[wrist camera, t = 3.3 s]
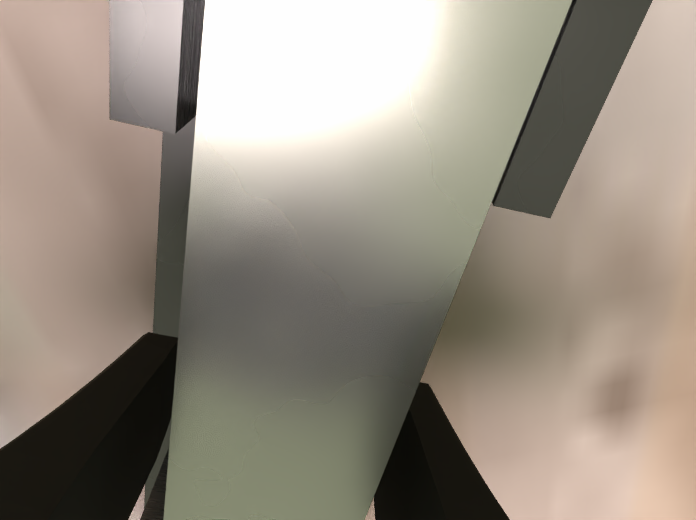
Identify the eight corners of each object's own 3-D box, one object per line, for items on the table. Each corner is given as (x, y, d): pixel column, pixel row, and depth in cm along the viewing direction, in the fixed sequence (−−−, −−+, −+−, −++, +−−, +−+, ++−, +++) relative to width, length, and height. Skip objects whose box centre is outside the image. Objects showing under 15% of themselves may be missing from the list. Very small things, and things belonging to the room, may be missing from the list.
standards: (344, 548, 18) (341, 708, 14) (149, 518, 18) (88, 678, 14) (601, -118, 9) (812, -200, 5) (193, -240, 8) (30, -459, 4)
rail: (286, 619, 15) (271, 760, 12) (181, 605, 15) (141, 747, 12) (522, -103, 6) (647, -163, 4) (280, -174, 6) (220, -295, 3)
